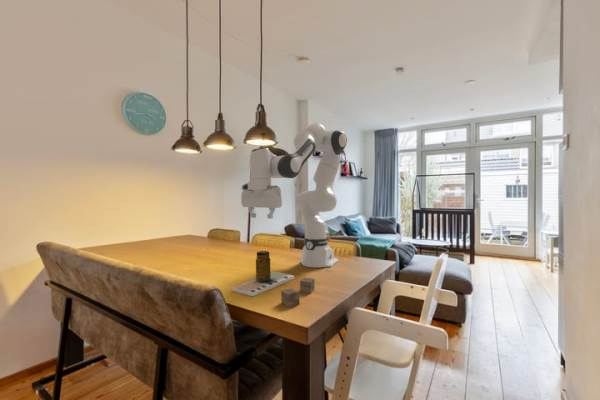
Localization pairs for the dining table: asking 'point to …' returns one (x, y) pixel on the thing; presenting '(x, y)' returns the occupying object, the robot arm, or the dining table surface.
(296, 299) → the walnut block
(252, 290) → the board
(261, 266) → the condiment
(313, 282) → the walnut block
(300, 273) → the dining table surface
